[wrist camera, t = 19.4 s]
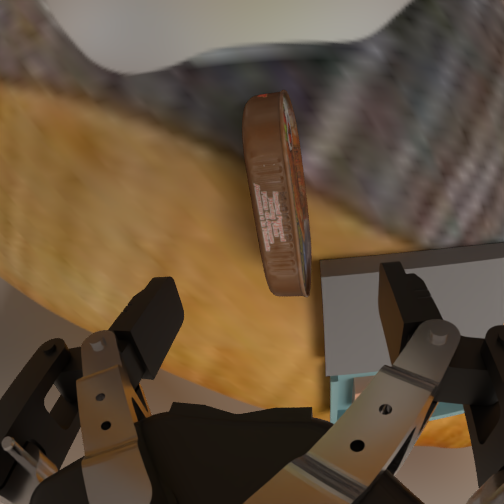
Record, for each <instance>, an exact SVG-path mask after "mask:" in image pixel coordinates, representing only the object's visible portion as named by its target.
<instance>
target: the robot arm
mask: <svg viewBox="0 0 504 504" xmlns="http://www.w3.org/2000/svg"><path fill="white" fill-rule="evenodd" d="M378 309H379V316H380V319H381V323H382V327H383V331H384V335H385V339H386V343H387V348H388V352H389V356H390V361H391V365H392V366H391V367H390V366H388V365H384V366H383V367H382V368H381V369H380V370H379V371H378V372H377V374H376V375H375V376H374V378H373V379H372V380H371V381H370V383H369V384H368V385H367V386H366V388H365V389H364V390H363V391H362V392H361V394H360V395H359V396H358V397H357V398H356V400H355V401H354V402H353V403H352V404H351V406H350V407H349V408H348V409H347V410H346V411H345V413H344V414H343V415H342V416H341V417H340V418H339V419H338V420H337V422H336V423H335V424H333V423H331V422H328V421H325V420H322V419H318V418H313V417H312V407H300V408H272V409H266V410H261V411H255V412H250V413H243V414H233V413H230V412H226V411H223V410H219V409H216V408H213V407H209V406H206V405H199V404H188V403H177V402H173V403H172V406H171V409H170V411H169V412H164V413H159V414H155V415H152V414H151V411H150V408H149V406H148V403H147V400H146V397H145V394H144V391H143V389H142V386H141V385H140V383H139V382H140V380H141V379H151V380H153V379H154V378H155V376H156V374H157V372H158V370H159V368H160V366H161V365H162V363H163V361H164V359H165V357H166V355H167V353H168V351H169V349H170V347H171V345H172V343H173V341H174V339H175V337H176V335H177V333H178V331H179V329H180V327H181V325H182V323H183V320H184V310H183V306H182V303H181V300H180V297H179V294H178V291H177V288H176V285H175V282H174V279H173V278H172V277H155V278H153V279H152V280H151V281H150V282H149V284H148V285H147V286H146V287H145V289H144V290H142V291H141V292H139V293H138V294H137V295H135V296H134V297H133V298H132V299H131V301H130V302H129V303H128V306H126V307H125V309H124V310H123V312H121V314H120V315H119V316H118V318H117V319H116V320H115V322H114V323H113V324H112V326H111V327H110V328H109V330H102V331H98V332H95V333H93V334H91V335H90V336H89V337H87V338H86V339H85V340H84V341H83V343H82V345H81V347H77V348H71V349H68V347H67V345H66V344H65V342H64V340H63V339H60V338H55V339H51V340H49V341H47V342H45V343H44V344H42V345H41V346H40V347H39V348H38V350H37V351H36V352H35V354H34V355H33V356H32V358H31V359H30V360H29V361H28V363H27V364H26V365H25V367H24V368H23V369H22V371H21V372H20V373H19V374H18V376H17V377H16V379H15V380H14V381H13V383H12V384H11V385H10V387H9V388H8V390H7V391H6V392H5V394H4V395H3V397H2V398H1V400H0V502H2V503H3V504H424V503H423V502H422V501H421V500H420V499H419V498H418V497H416V496H415V495H414V494H413V493H412V492H411V491H410V490H409V489H407V488H406V487H405V486H404V485H403V484H402V483H401V482H400V481H399V480H398V479H397V478H396V477H395V475H396V474H397V472H398V471H399V469H400V468H401V466H402V465H403V463H404V462H405V460H406V458H407V457H408V455H409V453H410V452H411V450H412V448H413V446H414V444H415V443H416V441H417V439H418V438H419V436H420V434H421V433H422V431H423V429H424V428H425V426H426V424H427V423H428V421H429V419H430V417H431V416H432V414H433V412H434V410H435V408H436V406H437V405H438V403H439V402H444V403H454V404H463V408H464V412H465V416H466V421H467V425H468V430H469V434H470V439H471V444H472V449H473V454H474V460H475V465H476V472H477V478H478V486H479V489H478V490H477V491H476V492H475V493H474V494H473V495H472V496H471V497H470V498H469V500H468V501H467V503H466V504H504V325H497V326H493V327H491V328H490V329H489V330H488V331H487V333H486V335H485V338H474V337H465V336H461V335H460V332H459V330H458V328H457V327H456V326H455V325H454V324H452V323H450V322H448V321H446V320H443V318H442V316H441V314H440V312H439V310H438V308H437V306H436V304H435V302H434V300H433V298H432V297H431V294H430V292H429V290H428V288H427V286H426V284H425V283H424V281H423V280H422V279H421V278H420V277H418V276H417V275H416V274H414V273H410V274H406V272H405V270H404V268H403V266H402V264H401V262H400V261H395V262H383V263H380V266H379V289H378ZM53 384H54V385H55V386H56V388H57V389H58V391H59V392H60V393H61V395H60V397H59V399H58V400H57V402H56V403H55V405H54V407H53V408H52V410H51V412H50V413H48V411H47V410H46V408H45V406H44V398H45V396H46V394H47V393H48V391H49V390H50V388H51V387H52V385H53ZM80 427H81V432H82V439H83V445H84V452H85V456H83V457H82V458H80V459H78V460H77V461H75V462H73V463H71V464H70V465H68V466H66V467H65V468H63V469H61V470H60V467H61V465H62V463H63V461H64V459H65V457H66V455H67V453H68V451H69V449H70V447H71V445H72V443H73V441H74V439H75V437H76V435H77V433H78V431H79V429H80Z"/></svg>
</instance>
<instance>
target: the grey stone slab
mask: <svg viewBox="0 0 504 504" xmlns="http://www.w3.org/2000/svg"><path fill="white" fill-rule="evenodd" d="M395 261H400V262H401V264H402V266H403V268H404V270H405V272H406V274H410V273H414V274H416V275H417V276H418V277H420V278H421V279H422V280H423V281H424V283H425V284H426V286H427V288H428V290H429V292H430V294H431V297H432V298H433V300H434V302H435V304H436V306H437V308H438V310H439V312H440V314H441V316H442V318H443V320H446V321H448V322H450V323H452V324H454V325H455V326H456V327H457V328H458V330H459V332H460V335H461V336H465V337H474V338H485V335H486V333H487V331H488V330H489V329H490V328H491V327H493V326H497V325H503V323H504V242H502V243H493V244H484V245H475V246H465V247H455V248H446V249H436V250H426V251H416V252H405V253H395V254H384V255H374V256H363V257H352V258H341V259H330V260H320V272H321V286H322V301H323V319H324V340H325V365H326V376H337V375H348V374H359V373H368V372H377V371H379V370H380V369H381V368H382V367H383V366H384V365H388V366H390V367H391V366H392V365H391V361H390V356H389V352H388V348H387V343H386V339H385V335H384V331H383V327H382V323H381V319H380V316H379V309H378V289H379V266H380V263H383V262H395Z"/></svg>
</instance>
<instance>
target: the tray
mask: <svg viewBox="0 0 504 504" xmlns="http://www.w3.org/2000/svg"><path fill="white" fill-rule="evenodd" d="M377 372H378V371H377ZM377 372H368V373H359V374H348V375H337V376H330V422H331V423H333V424H335V423H336V422H337V420H338V419H339V418H340V417H341V416H342V415H343V414H344V413H345V411H346V410H347V409H348V408H349V407H350V406H351V402H352V391H353V379H354V377H364V376H374V375H376V374H377ZM462 413H465V412H464V408H463V404H454V403H444V402H439V403H438V405H437V406H436V408H435V410H434V412H433V414H432V416H431V417H430V419H429V421H431V420H436V419H440V418H445V417H449V416H454V415H458V414H462Z"/></svg>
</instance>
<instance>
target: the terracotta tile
mask: <svg viewBox="0 0 504 504" xmlns="http://www.w3.org/2000/svg"><path fill="white" fill-rule="evenodd" d="M374 376H375V375H374ZM374 376H364V377H354V379H353V391H352V402H351V404H352V403H353V402H354V401H355V400H356V398H357V397H358V396H359V395H360V394H361V392H362V391H363V390H364V389H365V388H366V386H367V385H368V384H369V383H370V381H371V380H372V379H373V378H374Z"/></svg>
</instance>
